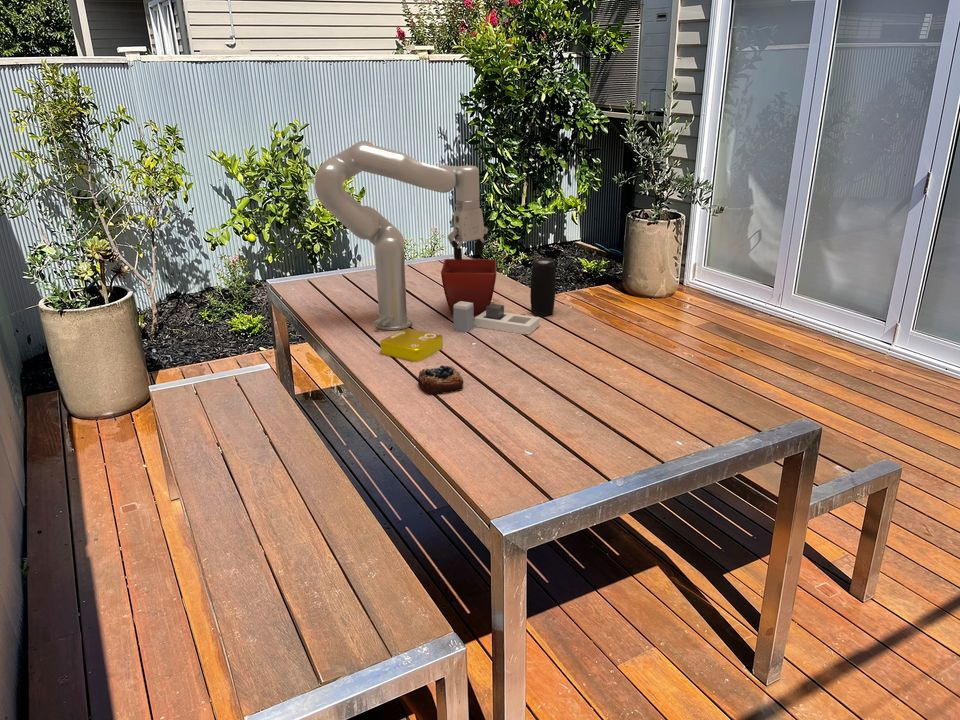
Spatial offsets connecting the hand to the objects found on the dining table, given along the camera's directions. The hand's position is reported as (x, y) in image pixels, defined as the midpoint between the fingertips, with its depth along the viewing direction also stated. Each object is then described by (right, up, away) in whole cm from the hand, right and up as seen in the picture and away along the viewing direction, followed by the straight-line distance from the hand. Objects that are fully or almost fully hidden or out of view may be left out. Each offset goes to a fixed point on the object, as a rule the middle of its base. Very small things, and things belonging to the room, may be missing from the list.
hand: (468, 256), depth 235 cm
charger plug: (-2, -24, +2) cm, 24 cm away
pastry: (-7, -42, -41) cm, 59 cm away
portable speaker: (+26, -18, +18) cm, 36 cm away
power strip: (+15, -22, +8) cm, 27 cm away
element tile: (-17, -32, -15) cm, 40 cm away
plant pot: (0, -17, +21) cm, 27 cm away
